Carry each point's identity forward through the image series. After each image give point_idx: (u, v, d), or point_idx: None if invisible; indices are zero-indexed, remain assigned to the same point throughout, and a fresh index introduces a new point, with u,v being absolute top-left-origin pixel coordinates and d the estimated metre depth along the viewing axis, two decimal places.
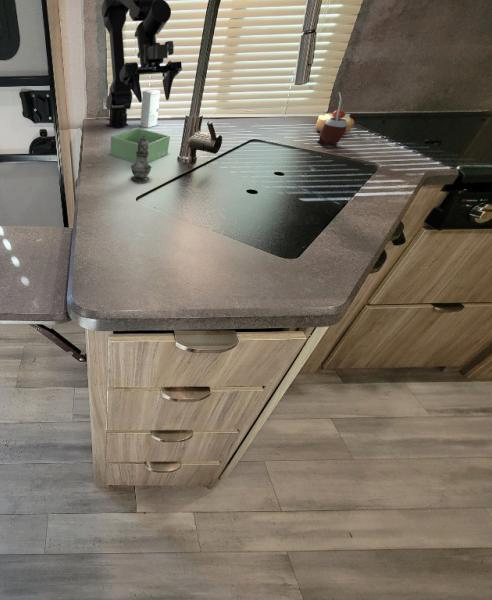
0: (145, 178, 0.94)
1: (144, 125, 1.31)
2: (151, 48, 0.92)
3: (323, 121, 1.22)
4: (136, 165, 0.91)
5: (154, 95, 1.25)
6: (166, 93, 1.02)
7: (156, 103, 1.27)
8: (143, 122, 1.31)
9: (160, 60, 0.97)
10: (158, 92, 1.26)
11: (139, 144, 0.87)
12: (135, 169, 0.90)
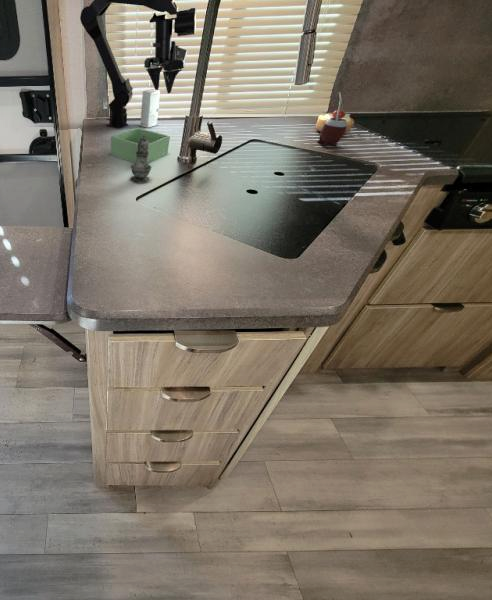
0: (145, 178, 0.94)
1: (144, 125, 1.31)
2: (183, 51, 1.14)
3: (323, 121, 1.22)
4: (136, 165, 0.91)
5: (153, 95, 1.25)
6: (156, 84, 1.23)
7: (156, 103, 1.27)
8: (143, 122, 1.31)
9: None
10: (158, 92, 1.26)
11: (139, 144, 0.87)
12: (135, 169, 0.90)
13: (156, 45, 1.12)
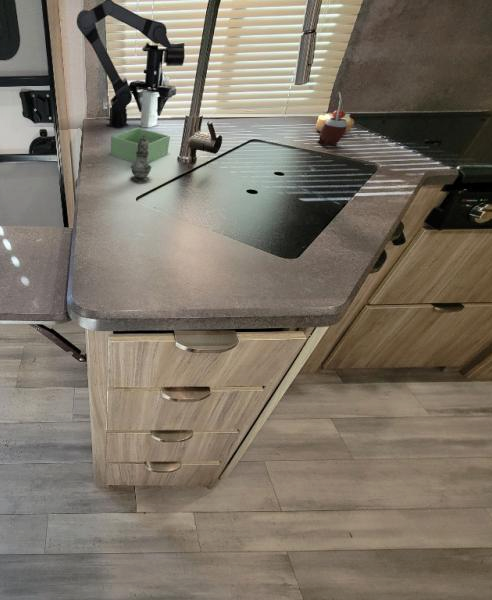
0: (145, 178, 0.94)
1: (144, 125, 1.32)
2: (168, 78, 1.25)
3: (323, 121, 1.22)
4: (136, 165, 0.91)
5: (154, 96, 1.25)
6: (141, 106, 1.32)
7: (156, 103, 1.27)
8: (143, 122, 1.31)
9: None
10: None
11: (139, 144, 0.87)
12: (135, 169, 0.90)
13: (149, 72, 1.20)
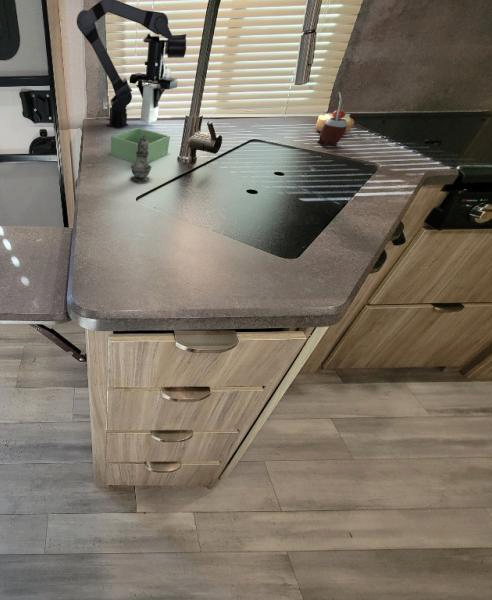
0: (145, 178, 0.94)
1: (144, 121, 1.30)
2: (169, 71, 1.24)
3: (323, 121, 1.22)
4: (136, 165, 0.91)
5: None
6: None
7: None
8: (143, 118, 1.30)
9: None
10: None
11: (139, 144, 0.87)
12: (135, 169, 0.90)
13: (150, 64, 1.18)
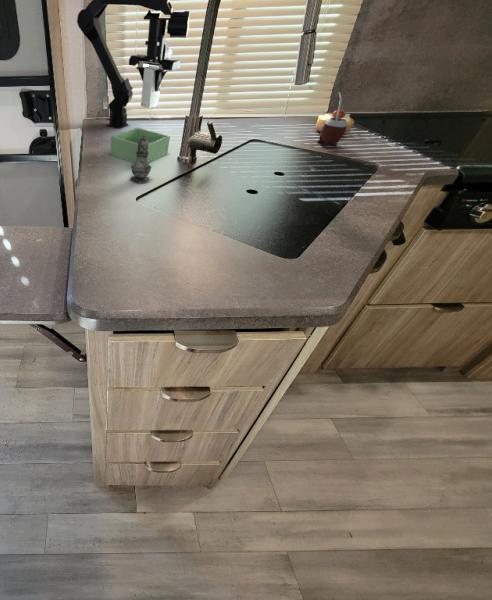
0: (145, 178, 0.94)
1: (145, 105, 1.23)
2: (171, 51, 1.17)
3: (323, 121, 1.22)
4: (136, 165, 0.91)
5: None
6: None
7: None
8: (144, 102, 1.23)
9: None
10: None
11: (139, 144, 0.87)
12: (135, 169, 0.90)
13: (151, 43, 1.11)
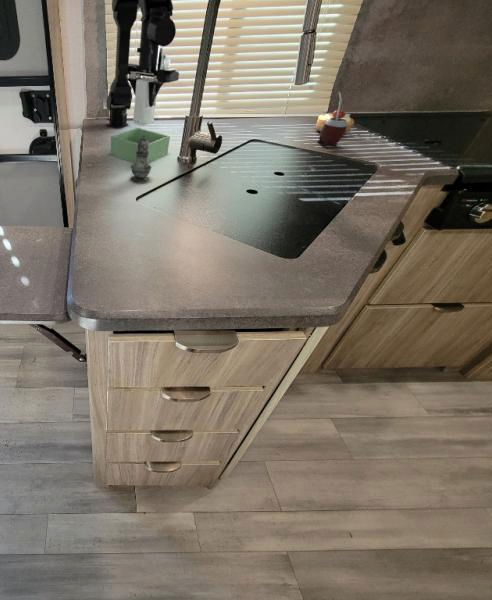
0: (145, 178, 0.94)
1: (138, 123, 1.05)
2: (168, 60, 0.98)
3: (323, 121, 1.22)
4: (136, 165, 0.91)
5: None
6: None
7: None
8: (137, 119, 1.05)
9: None
10: None
11: (139, 144, 0.87)
12: (135, 169, 0.90)
13: (144, 51, 0.93)
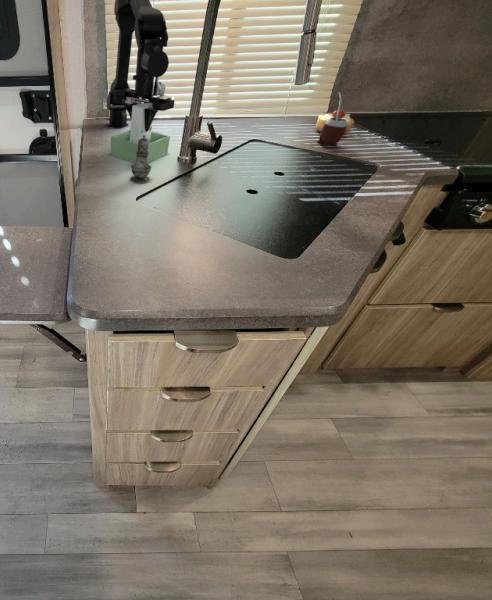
0: (145, 178, 0.94)
1: None
2: (164, 86, 0.99)
3: (323, 121, 1.22)
4: (136, 165, 0.91)
5: None
6: None
7: None
8: None
9: None
10: None
11: (139, 144, 0.87)
12: (135, 169, 0.90)
13: (139, 79, 0.93)
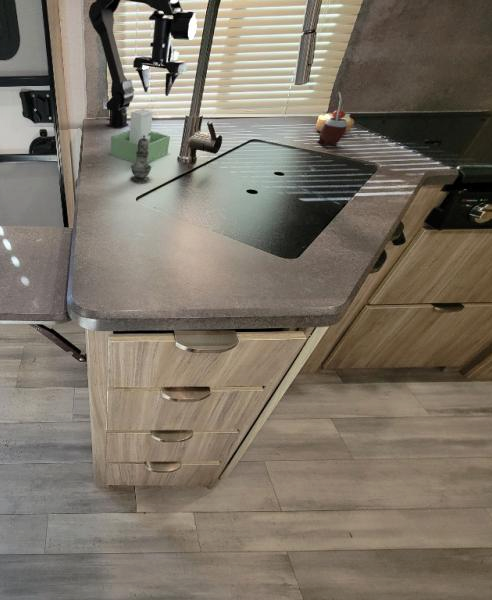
0: (145, 178, 0.94)
1: None
2: (177, 53, 1.12)
3: (323, 121, 1.22)
4: (136, 165, 0.91)
5: (145, 117, 1.00)
6: (146, 85, 1.18)
7: (147, 126, 1.03)
8: None
9: None
10: (150, 113, 1.01)
11: (139, 144, 0.87)
12: (135, 169, 0.90)
13: (156, 45, 1.06)
